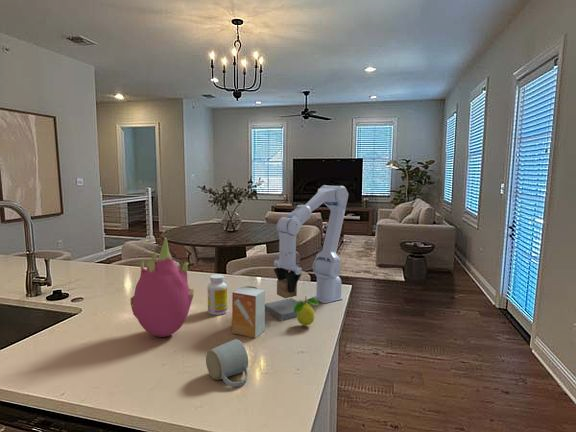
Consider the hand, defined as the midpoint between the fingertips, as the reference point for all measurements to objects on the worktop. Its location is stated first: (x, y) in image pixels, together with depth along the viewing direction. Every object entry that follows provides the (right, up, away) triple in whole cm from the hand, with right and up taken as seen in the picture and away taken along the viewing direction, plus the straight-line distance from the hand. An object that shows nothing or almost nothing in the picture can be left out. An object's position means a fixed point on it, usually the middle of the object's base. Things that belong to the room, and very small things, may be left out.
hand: (287, 289), depth 132 cm
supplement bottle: (-24, -8, -1) cm, 25 cm away
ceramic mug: (-13, -13, -42) cm, 46 cm away
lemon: (+6, -10, -12) cm, 16 cm away
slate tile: (0, -8, +1) cm, 8 cm away
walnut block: (0, -2, 0) cm, 2 cm away
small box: (-12, -10, -17) cm, 23 cm away
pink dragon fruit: (-37, -10, -20) cm, 43 cm away
